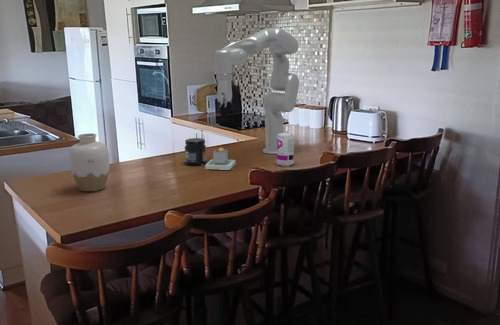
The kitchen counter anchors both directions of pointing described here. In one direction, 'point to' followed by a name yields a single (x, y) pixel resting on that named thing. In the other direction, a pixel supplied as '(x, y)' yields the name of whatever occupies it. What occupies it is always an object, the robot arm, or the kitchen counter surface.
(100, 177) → the vase
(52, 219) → the kitchen counter surface
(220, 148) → the ball
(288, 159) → the supplement can
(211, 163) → the tray
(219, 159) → the hollow metal cube
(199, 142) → the supplement container
